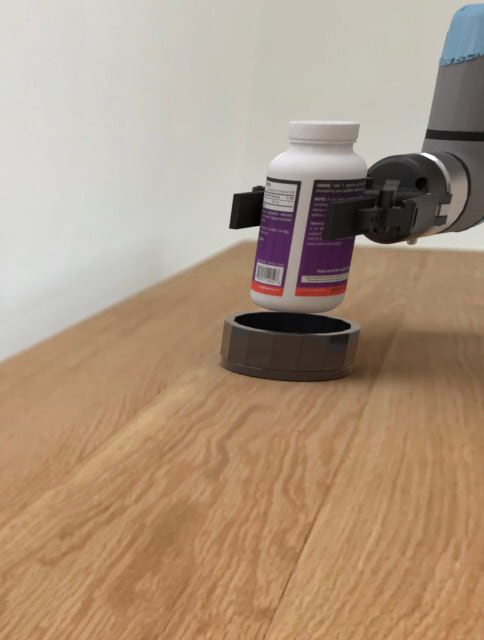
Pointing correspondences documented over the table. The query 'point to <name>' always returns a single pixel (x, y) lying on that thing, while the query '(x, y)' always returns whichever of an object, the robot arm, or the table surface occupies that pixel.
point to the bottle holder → (289, 345)
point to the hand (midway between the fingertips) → (280, 216)
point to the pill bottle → (307, 219)
